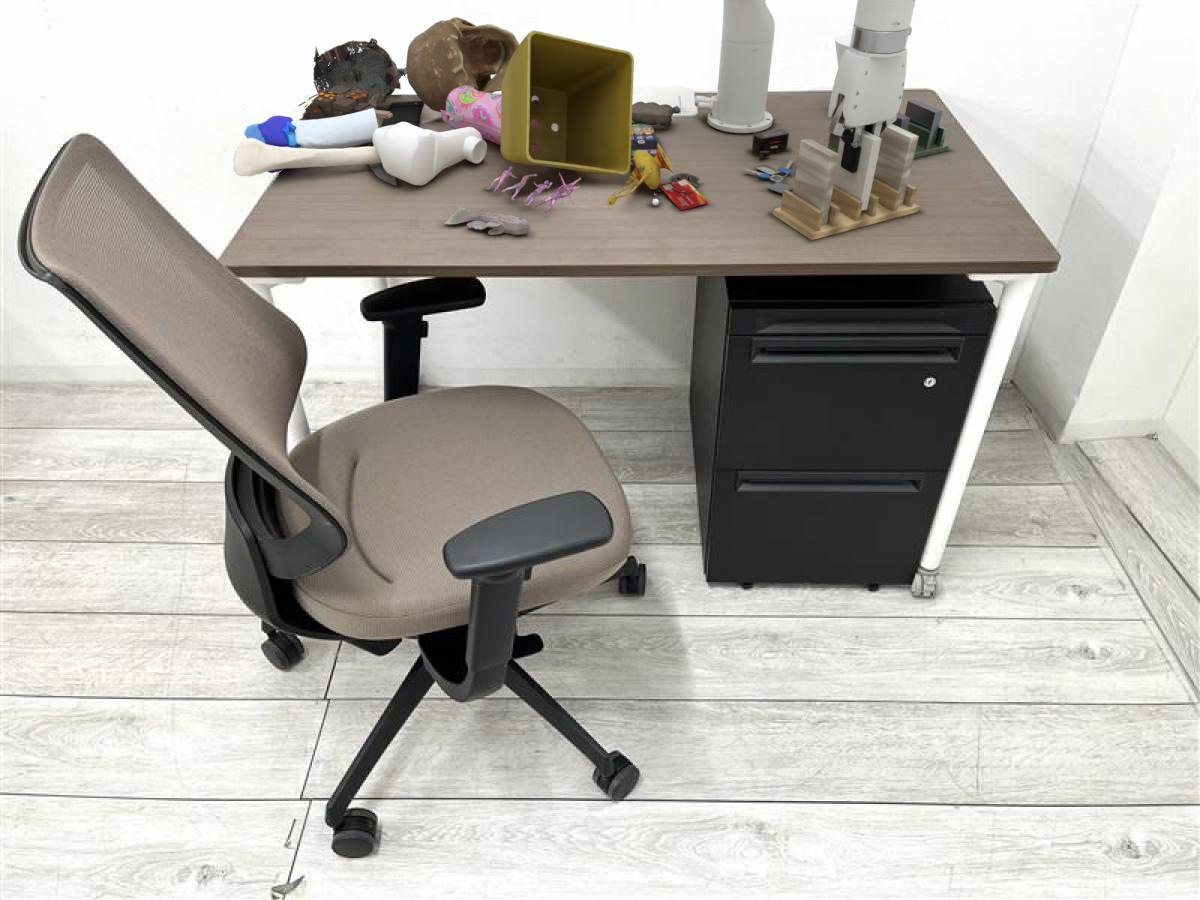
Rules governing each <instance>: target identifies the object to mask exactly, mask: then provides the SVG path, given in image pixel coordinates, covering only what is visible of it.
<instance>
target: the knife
mask: <svg viewBox="0 0 1200 900" xmlns="http://www.w3.org/2000/svg"><path fill="white" fill-rule="evenodd" d="M361 145H362V147H367V146H369V147H373V146H374V145H373V141H372V142H368V143H364V144H361ZM367 165H368V166H369V168H370V169H371V171H372V172H373V174H374V175H375V176H376V177H377V178H378V179H380V180H382V181H383V182H386V183H388V184H391V185H394V186H396V187H398V183H397V179H396V177H395V176H392V175H390V174H388V173H387V172H386V171H385V169H384V167H383V164H382V163H374V164H367Z"/></svg>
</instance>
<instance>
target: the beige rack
mask: <svg viewBox="0 0 1200 900" xmlns="http://www.w3.org/2000/svg"><path fill="white" fill-rule="evenodd" d="M918 137H919V136H917V135H915V134H913V133H911V132H908V131H906V130H904V129H902V128H900V127H898V126H895V125H893V124H890V125H889V126H887V127H886V128H885V129H884V130H883V132H882V133H881V134H880V137H879V138H881V144H880V149H879V153H878V158H877V163H876V168H875V173H874V178H873V183H872V188H871V192H870V197H869V202H868V207H867V209H866V210H862V211H861V209H862V204H863V202H862V201H860V200H859V199H857V198H855V197H854V196H852V195H850V194H848V193H847V192H845V191H843V190H841V189H840V188H838V187H836V186H834V180H835V174H836V169H837V163H838V157H839V154H838V153H836V152H834V151H832V150H830V149H828V148H826V146H824V145H823V144H821V143H819V142H817V141H815V140H813V139H811V138H806V139H800V143H799V149H798V157H797V163H796V171H795V177H794V185H793V191H791V190H789V191H788V190H784V191H783V193H782V197H781V204H780V207H777V208H773V210H772V211H773V212H772V215H773V216H774V217H776V218H777V219H778V220H780V221H782V222H783V223H785V225H788V226H789V227H790V228H792V229H794V230H795V231H797V232H799V233H800V234H801V235H803V236H804V237H806V238H808V239H809V240H810V241H814V240H818V239H822V238H826V237H829V236H832V235H837V234H840V233H844V232H848V231H852V230H857V229H860V228H863V227H867V226H870V225H871V226H872V225H874V224H878V223H883V222H886V221H890V220H893V219H898V218H901V217H904V216H908V215H913V214H917V213H918V212H919V210H920V205H918V204H917V203H914V202H915V198H916V194H917V190H918V187H915V186H914V185H912V184H910V183H909V179H910V175H911V171H912V167H913V163H914V159H915V158H914V154H915V150H916V145H917V141H918ZM913 158H914V159H913Z"/></svg>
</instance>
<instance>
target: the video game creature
mask: <svg viewBox="0 0 1200 900" xmlns="http://www.w3.org/2000/svg"><path fill="white" fill-rule="evenodd" d="M323 92H324V91H322V92H319V93H316V94H314V95H312V94H311V93H310V94H308V95H306V96H305V98H307V97H308V99H306V101H308V102H309V101H310V100H311V103H307V102H306V101H303V102H302V103H300V104H298V106H299V107H301V106H302V105H304V104H306V105H304V107H303V109H304V110H305V111H304V112H303V113H302V115H301V116H302V117H301V118H299V119H298V120H313V119H315V120H316V119H323V118H332V117H338V116H343V115H348V114H352V113H356V112H360V111H364V110H368V109H371V108H374V110H375V114H376V118H377V119H387V118H391V117H392V116H393V114H392V113H391V112H389V111H388V110H381V109H377V107H376V106H374V107H370V105H369V103H367V100H368V99H369V98H370V97H369V93H368V92H367V91H365V92H364V91H360V89H356V90H355V89H354V90H353V91H351V88H346V87H342V86H335V87H333V88H331V89H330V90H328V91H327V93H323ZM311 95H312V96H311ZM312 98H313V99H312Z"/></svg>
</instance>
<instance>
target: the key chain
mask: <svg viewBox="0 0 1200 900" xmlns="http://www.w3.org/2000/svg"><path fill="white" fill-rule="evenodd" d="M793 162H794V160H792V159H790V160H789V161H788V163H787V164H786V165H785V167H784V166H780V167H778V168H777V169H778V170H777V171H775V170H773V169H772V168H770V167H767V166H758V167H756V169H757V170H759V171H761V172H759V171H756V170H754V169H753V170H752V169H750V168H745V170H744V171H745V172H748V173H751V174H754V175H756V176H757V177H758V178H762V179H770V181H772V182H774V183H773V184H771V185H768V186H767V187H766V189H769V190H771V191H774V192H776V193H779V194H783V191H784V190H788V191H791V190H794V186H791V185H789V184H785V183H783V180H784V178H785V177H787V176H788V175H789V174H792V173H793V170H792V169H790V167H791V166H792V165H793ZM779 173H783V174H785V175H779Z"/></svg>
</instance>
